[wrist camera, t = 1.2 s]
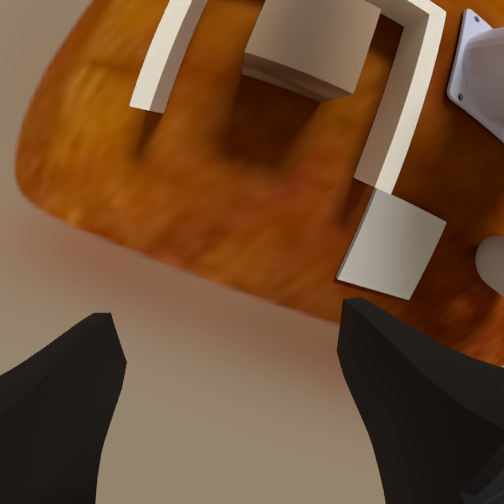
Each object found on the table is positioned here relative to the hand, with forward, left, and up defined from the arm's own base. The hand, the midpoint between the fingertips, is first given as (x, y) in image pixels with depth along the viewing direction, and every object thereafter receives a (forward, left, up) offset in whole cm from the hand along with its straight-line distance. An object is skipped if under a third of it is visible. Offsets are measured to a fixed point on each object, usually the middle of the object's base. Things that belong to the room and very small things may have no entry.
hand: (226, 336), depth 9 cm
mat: (-10, -3, -9) cm, 14 cm away
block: (0, -11, -9) cm, 14 cm away
